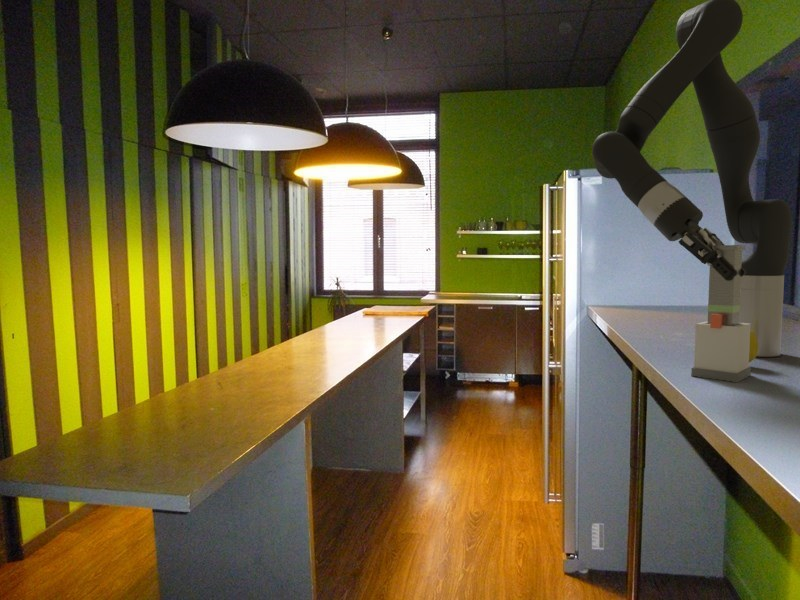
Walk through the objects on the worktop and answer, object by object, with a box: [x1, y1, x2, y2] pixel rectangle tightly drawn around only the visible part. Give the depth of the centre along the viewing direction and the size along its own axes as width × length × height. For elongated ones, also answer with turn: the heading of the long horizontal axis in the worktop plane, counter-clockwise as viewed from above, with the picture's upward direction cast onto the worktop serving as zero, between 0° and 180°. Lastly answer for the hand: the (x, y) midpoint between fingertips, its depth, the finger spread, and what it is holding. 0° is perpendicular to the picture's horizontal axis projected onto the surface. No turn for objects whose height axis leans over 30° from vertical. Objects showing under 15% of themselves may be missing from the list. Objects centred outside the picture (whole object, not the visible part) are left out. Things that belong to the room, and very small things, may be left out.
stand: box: [691, 314, 752, 383], centre depth 108 cm, size 8×8×12 cm
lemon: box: [749, 330, 758, 363], centre depth 117 cm, size 6×6×8 cm
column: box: [707, 244, 746, 326], centre depth 107 cm, size 5×5×17 cm
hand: (737, 276), depth 106 cm, fingers closed on column, 4 cm apart
